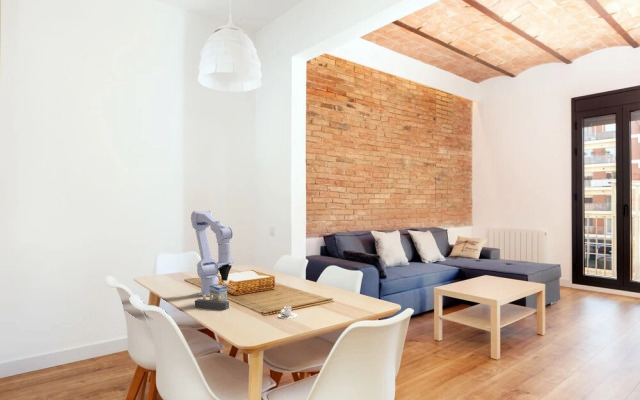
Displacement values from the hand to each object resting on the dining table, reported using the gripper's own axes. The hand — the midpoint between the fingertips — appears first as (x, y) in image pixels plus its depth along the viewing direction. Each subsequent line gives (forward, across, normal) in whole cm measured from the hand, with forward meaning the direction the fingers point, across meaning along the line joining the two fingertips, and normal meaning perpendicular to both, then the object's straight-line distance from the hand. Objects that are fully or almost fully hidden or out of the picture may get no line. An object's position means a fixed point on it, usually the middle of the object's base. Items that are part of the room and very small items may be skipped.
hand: (224, 280), depth 188 cm
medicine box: (+10, -6, 0) cm, 12 cm away
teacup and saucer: (+11, -11, -39) cm, 42 cm away
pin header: (+10, -12, 0) cm, 15 cm away
